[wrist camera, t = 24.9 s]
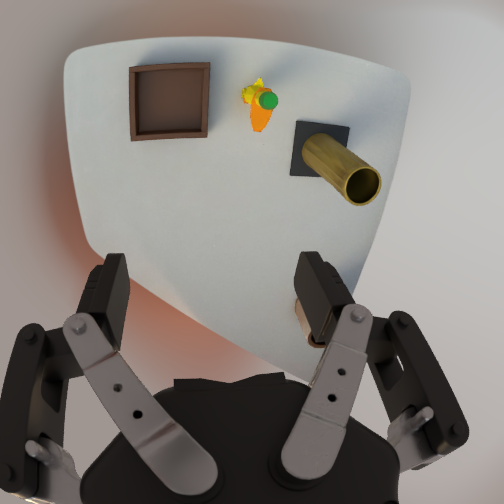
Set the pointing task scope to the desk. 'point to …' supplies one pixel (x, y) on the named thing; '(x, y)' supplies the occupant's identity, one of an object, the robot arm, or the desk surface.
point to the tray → (169, 101)
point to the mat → (301, 136)
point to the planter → (307, 327)
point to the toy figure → (259, 104)
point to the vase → (342, 169)
